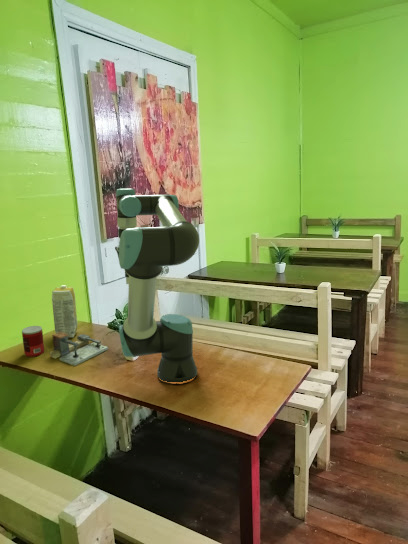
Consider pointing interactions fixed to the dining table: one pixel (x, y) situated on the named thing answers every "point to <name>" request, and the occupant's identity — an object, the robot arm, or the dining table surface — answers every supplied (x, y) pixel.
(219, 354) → the dining table surface
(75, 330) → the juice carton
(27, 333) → the canned food
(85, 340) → the rail
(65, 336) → the slide leg
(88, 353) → the bolt plate
